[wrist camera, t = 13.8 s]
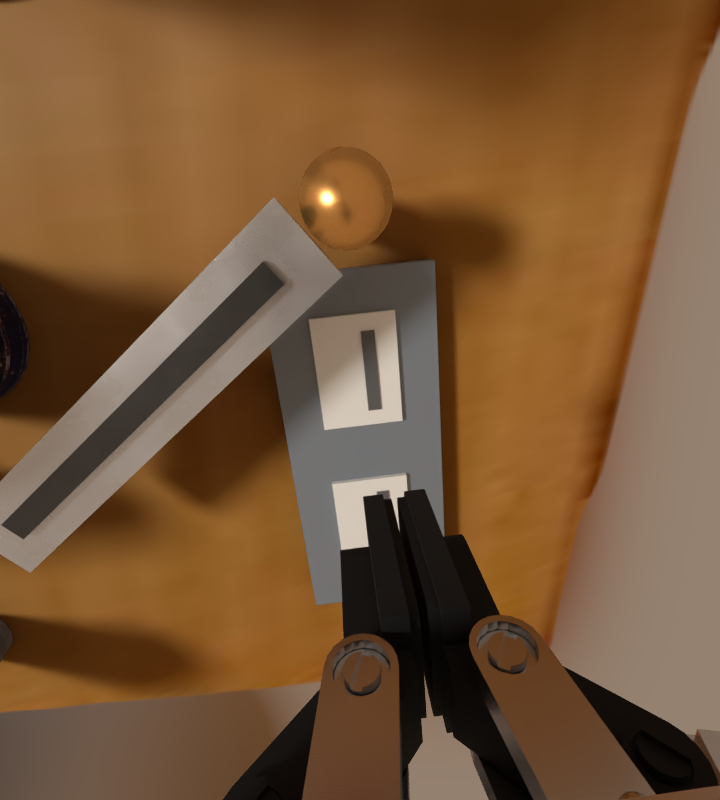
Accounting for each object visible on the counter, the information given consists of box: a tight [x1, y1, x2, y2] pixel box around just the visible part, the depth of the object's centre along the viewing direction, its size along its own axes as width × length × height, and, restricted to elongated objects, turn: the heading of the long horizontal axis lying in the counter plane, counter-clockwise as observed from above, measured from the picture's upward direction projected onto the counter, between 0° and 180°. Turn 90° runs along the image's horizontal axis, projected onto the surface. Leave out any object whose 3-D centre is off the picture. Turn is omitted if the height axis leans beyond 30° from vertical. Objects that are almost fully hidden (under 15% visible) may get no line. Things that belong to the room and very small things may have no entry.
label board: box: [270, 259, 444, 605], centre depth 26 cm, size 28×10×6 cm, turn 6°
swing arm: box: [0, 147, 393, 572], centre depth 19 cm, size 26×4×2 cm, turn 132°
